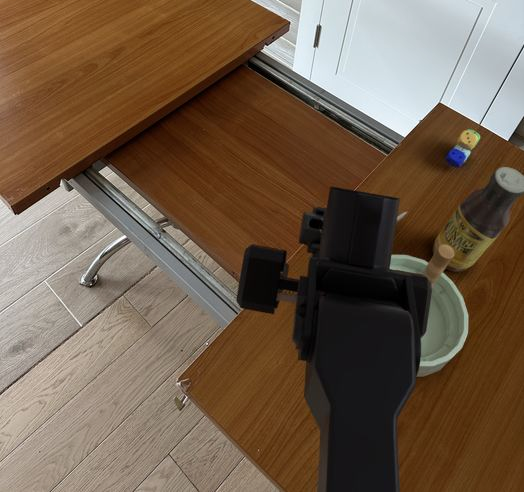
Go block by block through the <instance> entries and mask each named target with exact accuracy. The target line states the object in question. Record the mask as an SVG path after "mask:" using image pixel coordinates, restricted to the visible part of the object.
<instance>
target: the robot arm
mask: <svg viewBox="0 0 524 492" xmlns="http://www.w3.org/2000/svg"><path fill="white" fill-rule="evenodd" d="M327 196H328V197H327V203H326V207H322V206H313V207H312V212H309V211H304V212H303V214H302V217H301V223H300V231H299V237H298V243H299V244H300V245H305V246H306V253H308V254H312V255H311V256H309V257H308V258H309V259H308V264H307V275H306V276H305V275H299V279H298V278H292V277H288V275H289V271H290V270H289V269H290V264H288V263H287V256H288V255H287V252H288V251H287V250H286V249H280V248H276V247H272V246H264V245H259V244H253V243H252V244H250V245H249V246H248V247H246V248H245V249H244V254H243V257H242V258H243V259H242V265H241V270H240V276H239V282H238V287H237V292H236V301H235V302H236V303H237V305H238V306H239V308H240V309H243V310H247V311H253V312H258V313H264V314H269V315H275V310H276V309H278V308H279V304H280V302H284V303H285V302H286V303H290V304H295V309H294V317H293V327H292V335H291V341H292V342H293V343H294V345H295V350H297V359H298V361H302V362H305V372H304V373H305V374H304V386H303V387H304V390H303V397H304V400H305V403H306V405H307V407H308V409H309V411H310V413H311V415H312V416H313V417H312V418H313V419H314V421H315V423H316V425H317V426H318V429H319V454H318V455H319V456H318V469H317V470H318V472H317V490H316V492H401V484H400V464H399V446H398V445H399V443H398V418H399V417H400V415H401V413H402V411H403V410H404V408H405V406H406V404H407V402H408V401H409V399H410V397H411V396H412V393H413V392H414V390H415V388H416V385H417V378H418V377H417V374H418V371H419V366H420V360H421V338H422V337H423V336H424V334H425V333H426V330H427V323H428V316H429V309H430V302H431V295H432V286H431V283H430V281H429V280H428V278H427V277H425V276H424V275H422V274H417V273H411V272H406V271H400V270H393V269H390V262H391V256H392V255H393V250H394V249H393V248H394V242H395V235H396V228H397V223H398V221H397V217H398V216H399V215H398V214H399V210H400V209H399V208H400V201H401V198H399V197H395V196H388V195H383V194H377V193H371V192H367V191H366V192H365V191H360V190H354V189H348V188H341V187H337V186H329V191H328V195H327ZM291 292H292V293H291Z"/></svg>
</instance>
